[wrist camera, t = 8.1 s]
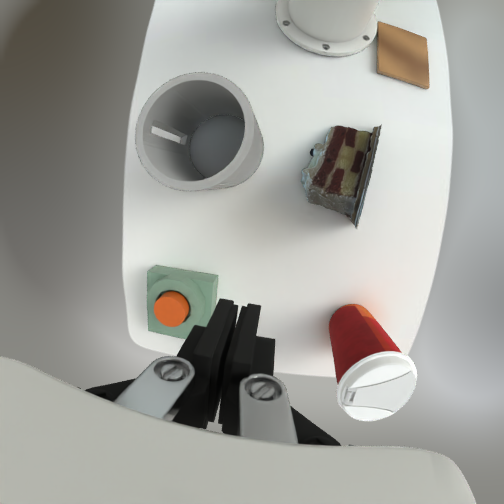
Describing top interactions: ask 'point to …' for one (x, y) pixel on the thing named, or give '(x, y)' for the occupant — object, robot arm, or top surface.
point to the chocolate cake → (341, 170)
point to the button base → (191, 287)
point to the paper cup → (368, 366)
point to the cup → (184, 125)
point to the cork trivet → (402, 55)
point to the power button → (171, 309)
